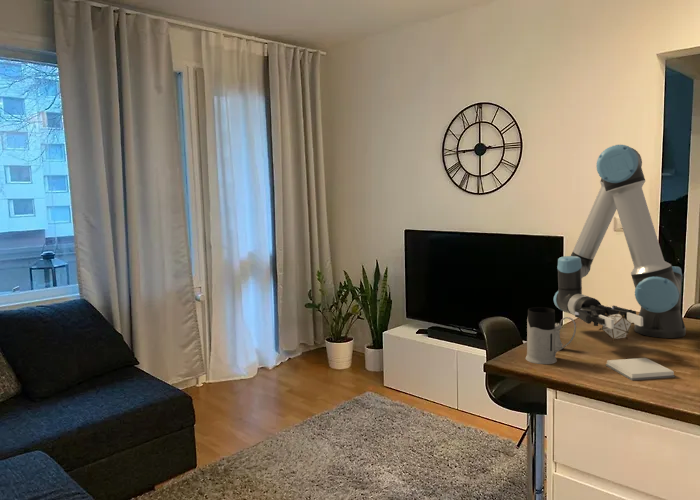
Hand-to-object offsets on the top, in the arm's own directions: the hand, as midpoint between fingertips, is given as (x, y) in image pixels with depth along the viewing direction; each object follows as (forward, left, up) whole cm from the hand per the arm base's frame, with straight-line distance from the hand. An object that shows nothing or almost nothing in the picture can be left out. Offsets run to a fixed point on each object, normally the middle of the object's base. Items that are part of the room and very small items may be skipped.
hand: (627, 322), depth 155 cm
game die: (0, -5, -6) cm, 8 cm away
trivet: (+1, +8, -12) cm, 14 cm away
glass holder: (+20, -5, -12) cm, 24 cm away
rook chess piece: (+13, -16, -12) cm, 24 cm away
